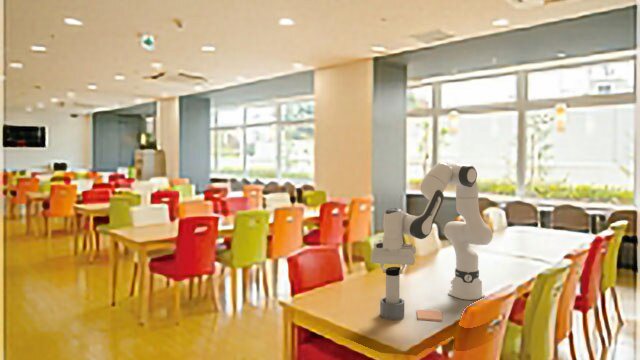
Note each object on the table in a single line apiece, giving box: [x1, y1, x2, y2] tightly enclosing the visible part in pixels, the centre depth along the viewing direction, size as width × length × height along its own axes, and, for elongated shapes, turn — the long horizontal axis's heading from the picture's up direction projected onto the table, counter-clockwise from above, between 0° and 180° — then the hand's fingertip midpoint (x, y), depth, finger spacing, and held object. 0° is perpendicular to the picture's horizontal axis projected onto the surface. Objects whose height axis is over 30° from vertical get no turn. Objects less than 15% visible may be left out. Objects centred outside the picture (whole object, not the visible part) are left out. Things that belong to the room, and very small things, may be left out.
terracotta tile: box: [416, 309, 443, 322], centre depth 213 cm, size 11×11×1 cm
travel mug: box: [385, 266, 401, 304], centre depth 213 cm, size 6×7×20 cm
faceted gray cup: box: [379, 296, 405, 321], centre depth 214 cm, size 11×11×7 cm
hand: (392, 273), depth 213 cm, fingers closed on travel mug, 6 cm apart
